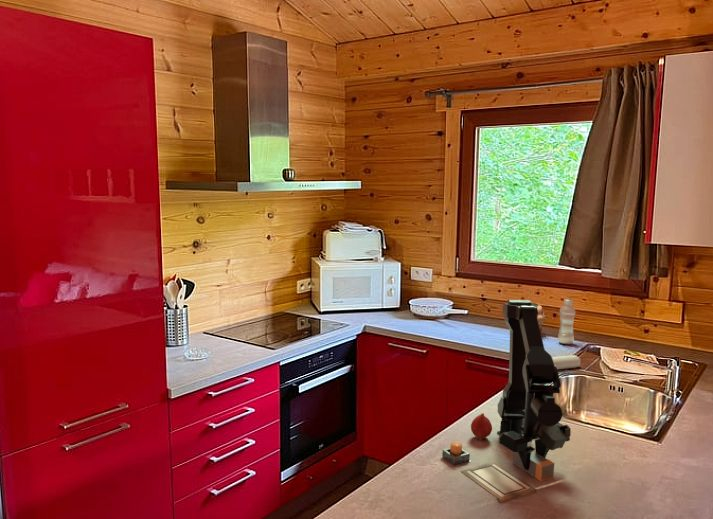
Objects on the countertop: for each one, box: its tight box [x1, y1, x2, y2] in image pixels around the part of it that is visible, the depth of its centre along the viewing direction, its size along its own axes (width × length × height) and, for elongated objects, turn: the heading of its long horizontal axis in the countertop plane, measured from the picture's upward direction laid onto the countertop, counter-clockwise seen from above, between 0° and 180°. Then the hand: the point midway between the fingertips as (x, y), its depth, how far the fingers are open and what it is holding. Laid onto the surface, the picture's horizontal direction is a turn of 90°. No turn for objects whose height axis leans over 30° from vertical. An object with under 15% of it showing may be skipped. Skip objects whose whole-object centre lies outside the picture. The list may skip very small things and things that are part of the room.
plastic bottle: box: [557, 297, 576, 345], centre depth 270 cm, size 6×7×20 cm
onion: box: [470, 412, 493, 440], centre depth 174 cm, size 6×6×8 cm
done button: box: [449, 441, 463, 456], centre depth 162 cm, size 3×3×2 cm
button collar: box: [439, 447, 473, 467], centre depth 162 cm, size 6×6×2 cm
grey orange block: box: [512, 450, 555, 482], centre depth 156 cm, size 4×10×4 cm, turn 28°
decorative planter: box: [531, 302, 547, 333], centre depth 287 cm, size 20×12×14 cm, turn 26°
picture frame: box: [460, 461, 537, 503], centre depth 151 cm, size 11×15×1 cm
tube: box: [552, 354, 581, 370], centre depth 237 cm, size 5×5×25 cm
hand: (532, 467), depth 157 cm, fingers closed on grey orange block, 4 cm apart
